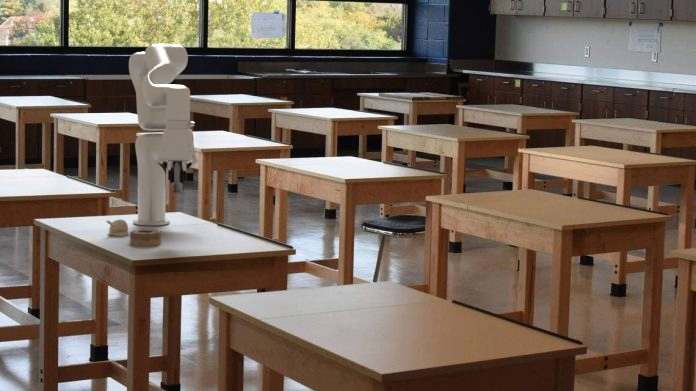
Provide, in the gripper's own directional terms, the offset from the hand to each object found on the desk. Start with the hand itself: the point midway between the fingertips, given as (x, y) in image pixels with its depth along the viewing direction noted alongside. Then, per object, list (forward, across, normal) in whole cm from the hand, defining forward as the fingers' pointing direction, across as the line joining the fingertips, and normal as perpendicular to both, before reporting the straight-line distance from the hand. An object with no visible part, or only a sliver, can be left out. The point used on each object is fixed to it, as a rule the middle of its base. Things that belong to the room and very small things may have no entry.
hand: (177, 182), depth 373 cm
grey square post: (+3, 0, 0) cm, 3 cm away
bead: (+19, +9, +7) cm, 22 cm away
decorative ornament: (+19, +21, -9) cm, 30 cm away
